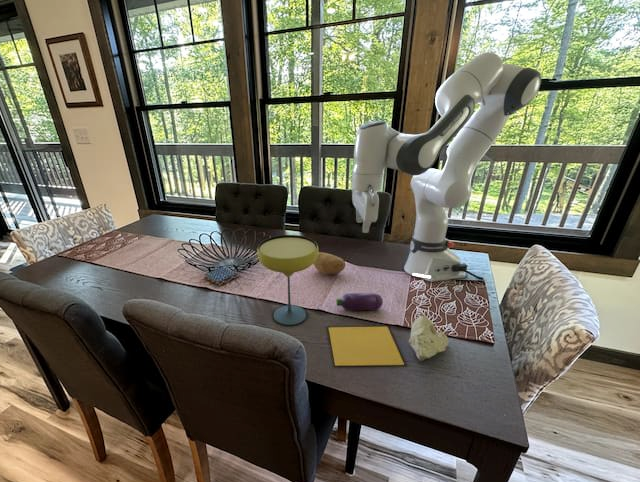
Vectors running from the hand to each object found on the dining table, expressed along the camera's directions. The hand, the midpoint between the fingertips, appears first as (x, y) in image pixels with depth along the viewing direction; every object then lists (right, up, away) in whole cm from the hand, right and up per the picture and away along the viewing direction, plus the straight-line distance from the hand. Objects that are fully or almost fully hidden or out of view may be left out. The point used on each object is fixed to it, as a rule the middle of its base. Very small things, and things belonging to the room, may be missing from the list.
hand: (362, 226), depth 98 cm
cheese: (+14, -37, -14) cm, 42 cm away
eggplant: (+1, -27, +7) cm, 28 cm away
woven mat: (-50, -17, +30) cm, 61 cm away
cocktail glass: (-23, -29, +5) cm, 37 cm away
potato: (-6, -15, +30) cm, 34 cm away
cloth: (-2, -35, -9) cm, 36 cm away
